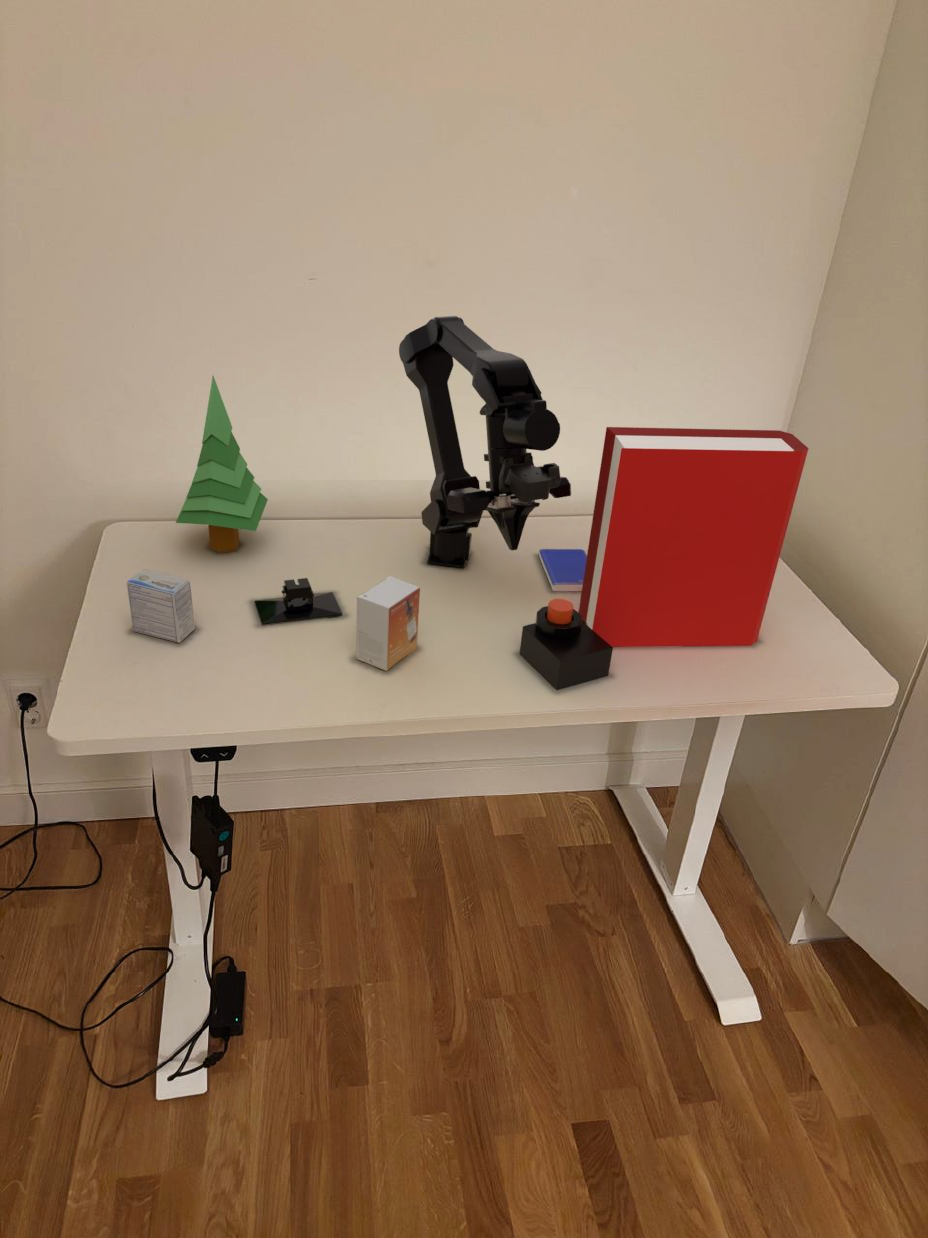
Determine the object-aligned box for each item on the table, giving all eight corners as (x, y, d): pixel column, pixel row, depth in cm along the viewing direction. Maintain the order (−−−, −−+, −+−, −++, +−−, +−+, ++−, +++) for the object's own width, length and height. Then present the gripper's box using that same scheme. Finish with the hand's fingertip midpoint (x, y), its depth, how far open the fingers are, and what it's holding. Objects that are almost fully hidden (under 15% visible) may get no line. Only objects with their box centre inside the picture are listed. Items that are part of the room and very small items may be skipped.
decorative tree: (223, 520, 175) (211, 355, 159) (285, 547, 167) (280, 377, 152) (162, 545, 165) (144, 372, 149) (226, 575, 158) (214, 396, 142)
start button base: (516, 652, 144) (521, 611, 140) (566, 639, 148) (572, 599, 144) (556, 690, 136) (562, 649, 132) (608, 676, 140) (615, 635, 136)
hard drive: (601, 583, 161) (584, 548, 171) (553, 583, 159) (539, 548, 170) (600, 591, 161) (583, 556, 172) (552, 591, 160) (538, 556, 171)
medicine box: (196, 630, 143) (191, 578, 139) (179, 644, 139) (173, 592, 135) (150, 618, 145) (144, 567, 140) (132, 632, 141) (125, 580, 137)
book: (589, 647, 146) (621, 448, 130) (577, 619, 153) (606, 426, 136) (759, 645, 150) (812, 451, 133) (740, 618, 157) (788, 430, 140)
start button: (542, 615, 140) (543, 601, 139) (562, 610, 142) (564, 596, 141) (555, 627, 138) (557, 613, 137) (576, 622, 139) (578, 608, 138)
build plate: (332, 594, 155) (332, 568, 152) (343, 617, 149) (343, 591, 147) (254, 602, 151) (253, 576, 148) (261, 626, 145) (261, 599, 143)
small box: (386, 672, 137) (388, 609, 131) (354, 659, 139) (355, 596, 134) (418, 648, 143) (421, 586, 137) (387, 635, 145) (389, 574, 140)
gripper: (479, 457, 132) (486, 569, 136) (590, 442, 140) (594, 547, 144) (441, 452, 141) (449, 557, 145) (548, 438, 149) (553, 537, 154)
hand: (513, 549), depth 147 cm, fingers closed
